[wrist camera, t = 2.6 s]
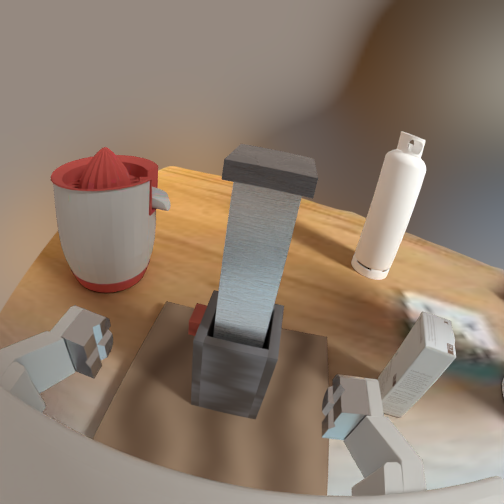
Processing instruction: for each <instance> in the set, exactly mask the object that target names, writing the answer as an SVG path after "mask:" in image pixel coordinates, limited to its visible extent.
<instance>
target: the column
mask: <svg viewBox="0 0 504 504" xmlns="http://www.w3.org/2000/svg"><path fill="white" fill-rule="evenodd" d="M222 180H227V181H233V182H234V183H233V190H232V196H231V203H230V210H229V217H228V224H227V232H226V239H225V246H224V254H223V261H222V269H221V277H220V285H219V293H218V301H217V309H216V317H215V326H214V334H213V337H214V338H218V339H222V340H226V341H230V342H235V343H239V344H244V345H248V346H253V347H257V348H262V347H263V343H264V339H265V336H266V332H267V329H268V325H269V321H270V318H271V314H272V310H273V307H274V303H275V299H276V296H277V292H278V288H279V284H280V281H281V277H282V273H283V269H284V265H285V261H286V257H287V253H288V250H289V246H290V242H291V238H292V234H293V230H294V226H295V221H296V217H297V213H298V209H299V205H300V201H301V197H302V196H305V197H309V198H313V196H314V192H315V188H316V184H317V180H318V176H317V171H316V166H315V161H314V159H313V158H309V157H304V156H300V155H295V154H291V153H286V152H281V151H276V150H272V149H266V148H261V147H256V146H251V145H245V144H241V145H240V146H238V147H237V148H236V149H235V150H234V151H233V152H232V153H231V154H230V155H229V156H227V157H226V158H225V159H224V167H223V173H222Z"/></svg>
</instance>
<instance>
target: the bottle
mask: <svg viewBox="0 0 504 504" xmlns="http://www.w3.org/2000/svg"><path fill="white" fill-rule="evenodd" d="M411 140H414V146H413V145H412V144H411V145H409V148H408V143H409V141H411ZM409 144H410V143H409ZM424 144H425V140H423V139H421V138H419V137H416V136H414V135H411V134H408V133H405V132H401V135H400V139H399V143H398V147H397V149H395V150H392V151H389V152H388V153H387V154H386V156H385V159H384V163H383V166H382V170H381V173H380V177H379V180H378V183H377V187H376V191H375V193H374V197H373V200H372V203H371V206H370V209H369V212H368V215H367V218H366V221H365V224H364V227H363V230H362V233H361V236H360V239H359V242H358V244H357V247H356V250H355V254H354V256H353V258H352V261H351V264H352V266H353V268H354V269H355V270H356V271H357V272H358V273H360V274H361V275H363V276H365V277H368V278H371V279H376V280H381V279H384V278H386V276H387V274H388V272H389V269H390V267H391V265H392V262H393V260H394V258H395V255H396V253H397V250H398V248H399V245H400V243H401V240H402V238H403V235H404V233H405V230H406V228H407V225H408V222H409V220H410V217H411V214H412V212H413V209H414V206H415V203H416V200H417V197H418V194H419V191H420V188H421V185H422V182H423V179H424V176H425V173H426V166H425V164H424V162H423V161H422V159H421V155H422V151H423V148H424ZM358 261H359V262H360V263H361V264H363V265H364V266H366V267H368V268H371V270H369V269H367V268H365V267H364V266H362V265H361V264H360V263H359V262H358ZM382 271H385V272H382Z"/></svg>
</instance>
